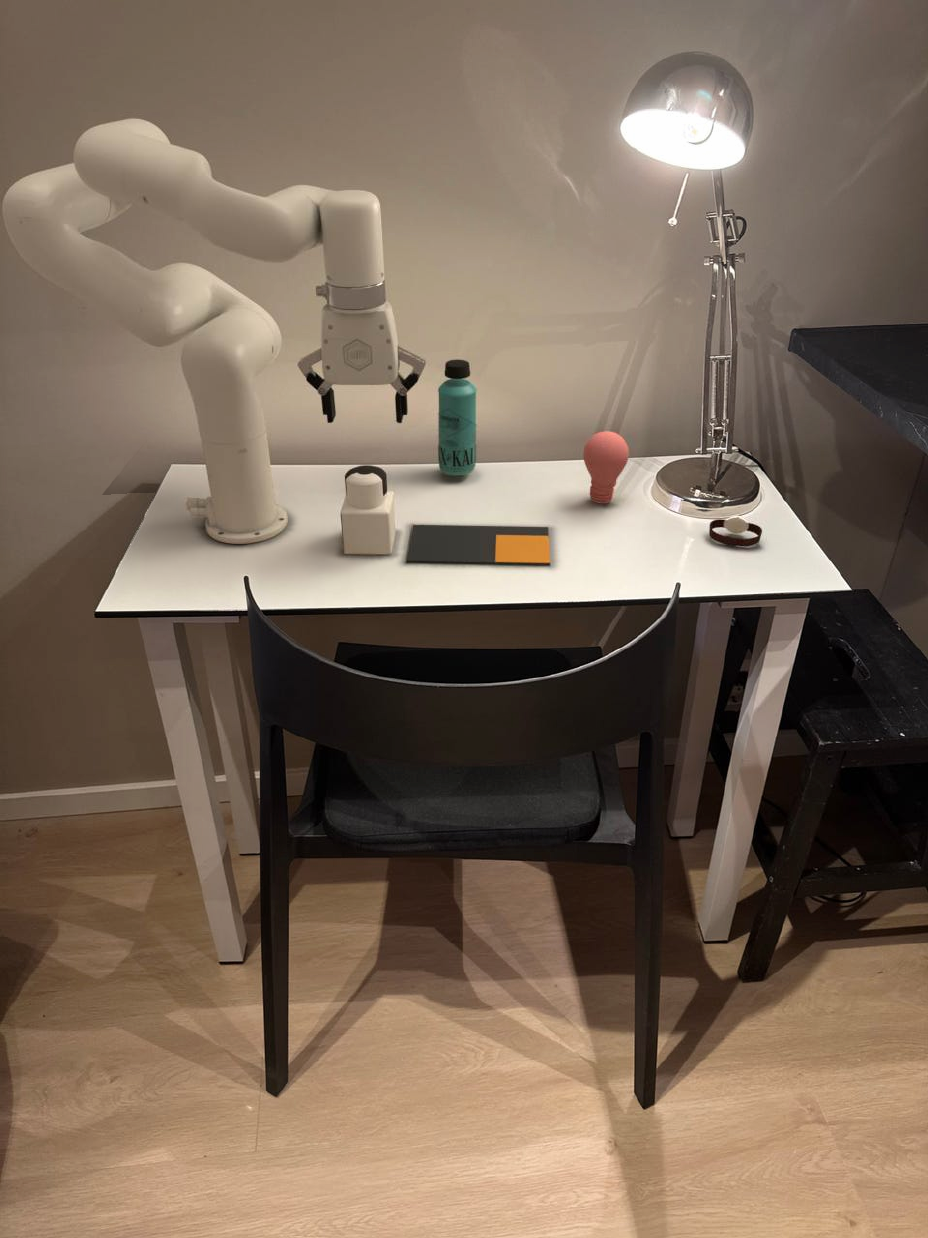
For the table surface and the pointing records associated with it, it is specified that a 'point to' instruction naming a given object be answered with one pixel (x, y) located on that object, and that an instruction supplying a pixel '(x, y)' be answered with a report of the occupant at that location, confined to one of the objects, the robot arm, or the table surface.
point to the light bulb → (605, 463)
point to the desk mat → (479, 545)
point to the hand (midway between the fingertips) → (365, 419)
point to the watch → (735, 531)
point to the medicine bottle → (367, 512)
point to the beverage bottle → (457, 420)
